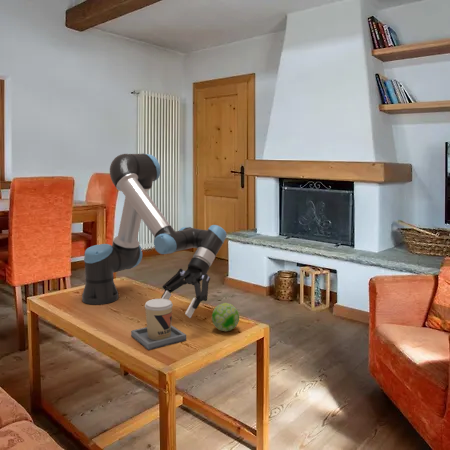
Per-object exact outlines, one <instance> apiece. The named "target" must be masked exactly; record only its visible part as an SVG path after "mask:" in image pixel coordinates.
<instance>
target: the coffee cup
mask: <svg viewBox="0 0 450 450" xmlns="http://www.w3.org/2000/svg"><path fill="white" fill-rule="evenodd" d="M144 309H145V317H146V318H145V320H146V327H147V332H148V338H149V339H151V340H155V341H158V340H162V339H166V338H170V336H171V325H172V320H173V318H172V316H173V303H172V301H171V300H170V299H169V300H168V299H162V298H153V299H150V300H147V301H146V302H145V305H144Z"/></svg>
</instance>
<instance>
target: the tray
mask: <svg viewBox="0 0 450 450" xmlns="http://www.w3.org/2000/svg"><path fill="white" fill-rule="evenodd" d="M130 335H131V337H132V338H133V339H134V340H135V341H136V342H137V343H139V344H140V345H141V346H143V347H144V348H145V349H146V350H148V351H150V350H155V349H159V348H162V347H166V346H170V345H174V344H178V343H181V342H186V341H187V334H186V333H184V332H183V331H181V329H178V328H176V327H175V326H174V325H172V324H171V336H170V338H166V339H162V340H158V341H155V340H151V339H149V338H148V332H147V326H146V327H141V328H138V329H132V330H130Z"/></svg>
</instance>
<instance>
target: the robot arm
mask: <svg viewBox="0 0 450 450" xmlns="http://www.w3.org/2000/svg"><path fill="white" fill-rule="evenodd" d="M161 171H162V170H161V164H160V162H159V160H158V158H156V156H154V155H153V154H149V153H143V152H142V153H122V154H120V155H117V156H116V157H114V159H112V162H110V166H109V175H110V179H111V182H112V184H113V185H114V187H115V188H116V190H117V191H119V192H122V194H123V195H124V201H123V202H124V203H123V207H122V211H121V217H120V224H119V228H118V233H117V235H116V236H115V237H114V238H113V241H112V245H111V244H108V243H101V244H95V245H91V246H90V247H87V248H86V249H85V251H84V259H83V261H84V273H85V275H84V276H85V283H84V284H85V285H84V287H83V292H82V296H81V299H82V303H83V304H86V305H97V306H98V305H105V304H110V303H113V302H116V301H117V300H118V299H119V292H118V290H117V286H116V283H115V281H114V273H118V272H121V271H125V270H131V269H133V268H135V267H137V266H138V265H139V264H141V262H142V259H143V251H142V250H143V249H142V246H141V245H140V242H139V240H138V236H139V231H140V227H141V223H142V222H143V223H144V224H145V226H146V227H147V228H148V230H149V232H151V235H152V236H153V238H154V240H153V245H154V250H155V251H156V252H157V253H158V254H160V255H169V254H173V253H176V252H179V251H185V250H188V249H192V248H193V249H196V250H195V252H194V253H193V255H192V257H191V259H190V261H189V263H188V265H187V269H186V270H183V268H179V270H178V271H177V272H176V273H175V274H174V275H173V276H172V277H171V278H170V279H168V281H165V282H166V283H164V284H163V285H162V288H163V290H164V292H163V293H162V295H161V297H160V299H168V300H170V299H171V297H172V293H173V292H174V291H176V290H177V289H180V287H182V286H184V285H192V286H193V287H194V293H195V296H194V297H193V298H192V300H191V302H190V303H189V306H188V307H187V309H186V311H185V312H184V313H185V314H184V315H186V316H187V317H188V318H189V319H191V318H192V316H193V314H194V313H195V311H196V310H197V309H198V308H199V305H200V304H201V302H202V301H204V302H207V301H208V294H209V293H208V292H209V283H210V281H211V277H210V276H209V274H208V272H209V269H210V267H211V266H212V264H213V262H214V261H215V258H216V257H217V254H218V253H219V251H220V250H221V248H222V246H223V244H224V242H225V240H226V238H227V234H228V233H227V231H226V230H225V229H224V228H223V227H221V226H220V225H217V224H212V225H209V227H208V229H200V228H194V227H191V226H188V227H187V226H182V227H181V228H180V229H178V230H177V231H175V229H174V228H173V227H172V225H171V224H170V223H169V221H168V220H167V218H166V217H165V216H164V214H163V213H162V212H161V210H160V209H159V207H158V206H157V205H156V203H155V202H154V201H153V199H152V198H151V196H150V195H149V193H148V191H150V190H151V189H152V186H153V183H154V182H156V181H157V180H158V179H160V175H161ZM141 221H142V222H141ZM201 281H202V282H201Z"/></svg>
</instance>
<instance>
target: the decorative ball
mask: <svg viewBox="0 0 450 450" xmlns="http://www.w3.org/2000/svg"><path fill="white" fill-rule="evenodd" d="M211 322H212V324H213V326H214V327H215V328H216V329H218V330H219V331H222V332H230V331H232V330H233V329H235V328H236V327H237V326H238V324H239V322H240V312H239V310H238V309H237V307H235V306H234V304H232V303H228V302H222V303H219V304H217V305H216V306H215V308H214V309H213V310H212V313H211Z"/></svg>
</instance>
